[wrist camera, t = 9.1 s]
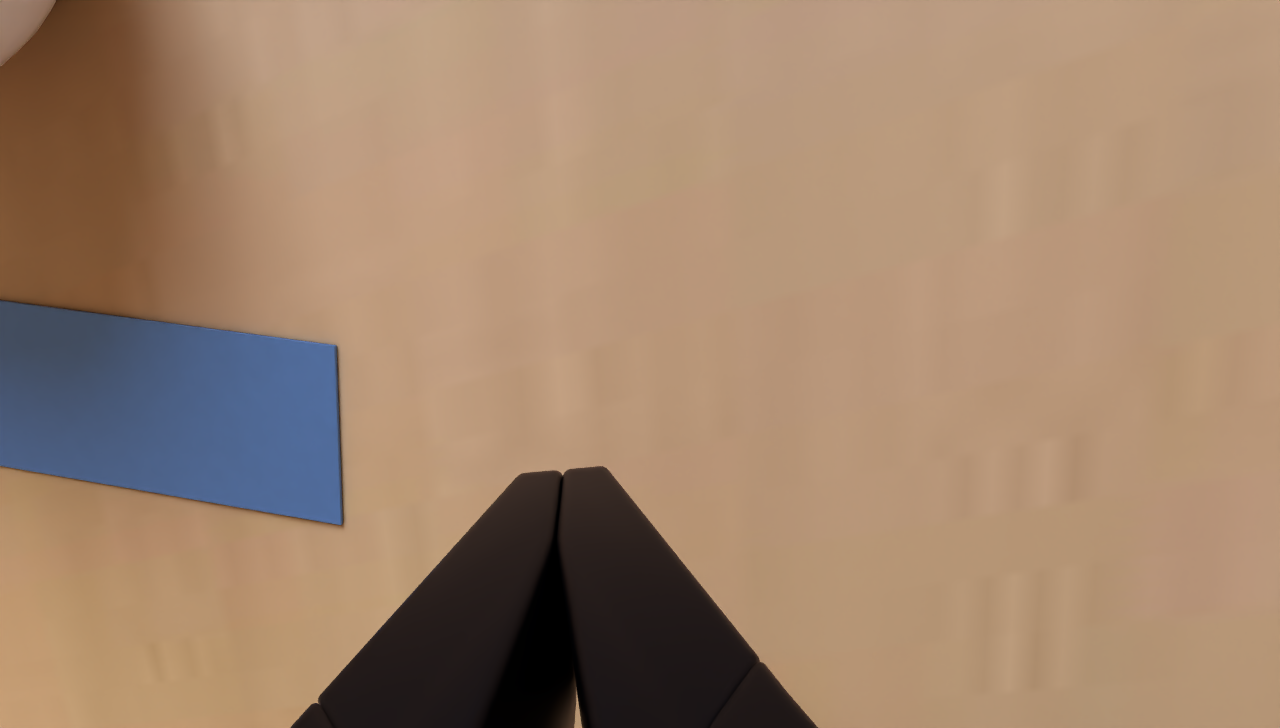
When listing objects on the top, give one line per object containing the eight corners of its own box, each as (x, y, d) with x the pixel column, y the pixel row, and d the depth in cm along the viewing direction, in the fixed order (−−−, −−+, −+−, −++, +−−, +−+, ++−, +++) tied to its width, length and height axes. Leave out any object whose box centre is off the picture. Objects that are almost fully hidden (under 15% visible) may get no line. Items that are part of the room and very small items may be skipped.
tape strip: (343, 523, 23) (341, 525, 23) (-105, 446, 25) (-109, 447, 25) (336, 345, 21) (334, 346, 21) (-137, 281, 24) (-141, 282, 24)
